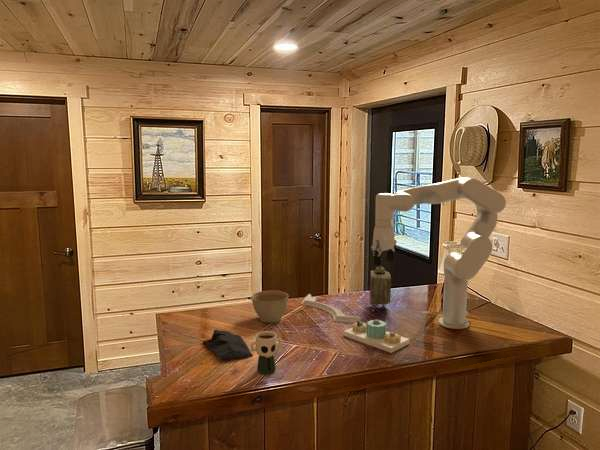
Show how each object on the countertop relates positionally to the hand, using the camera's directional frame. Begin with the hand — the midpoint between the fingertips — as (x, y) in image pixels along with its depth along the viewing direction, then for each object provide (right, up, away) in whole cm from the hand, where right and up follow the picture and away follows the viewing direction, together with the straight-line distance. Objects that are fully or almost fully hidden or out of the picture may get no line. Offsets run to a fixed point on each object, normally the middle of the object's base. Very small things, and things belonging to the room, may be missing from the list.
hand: (383, 263), depth 199 cm
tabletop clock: (+2, -24, +25) cm, 35 cm away
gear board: (-5, -30, -11) cm, 32 cm away
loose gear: (-5, -28, -12) cm, 31 cm away
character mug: (-47, -34, -38) cm, 69 cm away
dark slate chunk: (-63, -32, -20) cm, 73 cm away
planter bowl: (-49, -26, +11) cm, 56 cm away
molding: (-21, -25, +24) cm, 40 cm away
